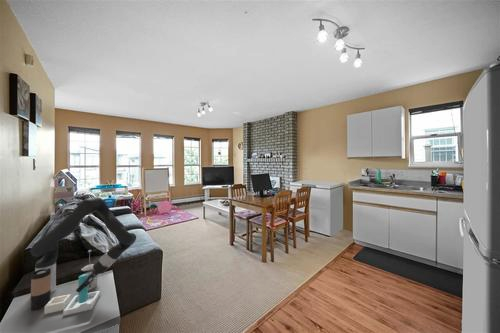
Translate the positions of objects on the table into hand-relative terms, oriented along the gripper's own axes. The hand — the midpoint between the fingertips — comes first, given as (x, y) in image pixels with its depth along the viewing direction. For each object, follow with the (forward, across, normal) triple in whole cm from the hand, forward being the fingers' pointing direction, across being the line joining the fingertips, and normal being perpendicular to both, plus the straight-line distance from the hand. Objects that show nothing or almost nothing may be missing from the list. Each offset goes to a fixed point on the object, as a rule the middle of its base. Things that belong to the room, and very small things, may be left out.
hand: (78, 289), depth 109 cm
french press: (+7, -19, +8) cm, 22 cm away
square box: (+14, -4, 0) cm, 14 cm away
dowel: (+4, 0, +6) cm, 7 cm away
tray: (+6, 0, +8) cm, 10 cm away
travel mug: (+21, -11, -6) cm, 24 cm away
